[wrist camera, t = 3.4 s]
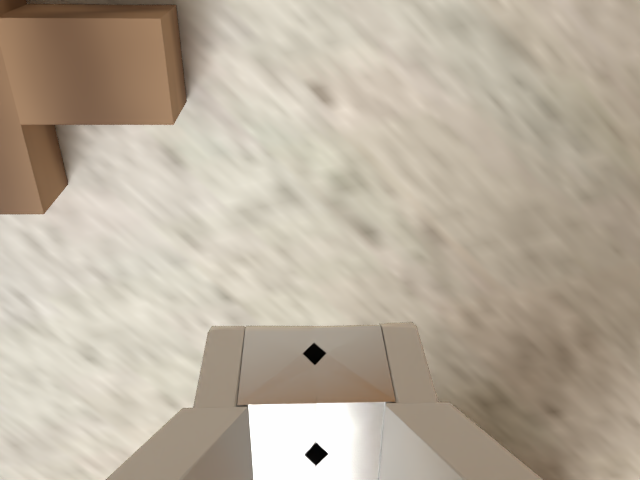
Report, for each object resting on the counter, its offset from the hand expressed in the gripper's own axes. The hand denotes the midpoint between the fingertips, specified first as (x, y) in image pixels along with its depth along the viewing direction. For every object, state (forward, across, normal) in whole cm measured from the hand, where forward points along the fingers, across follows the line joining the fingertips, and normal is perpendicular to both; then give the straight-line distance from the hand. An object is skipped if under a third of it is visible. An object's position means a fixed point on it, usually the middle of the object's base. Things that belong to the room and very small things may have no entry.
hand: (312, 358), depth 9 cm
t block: (+19, +10, 0) cm, 22 cm away
